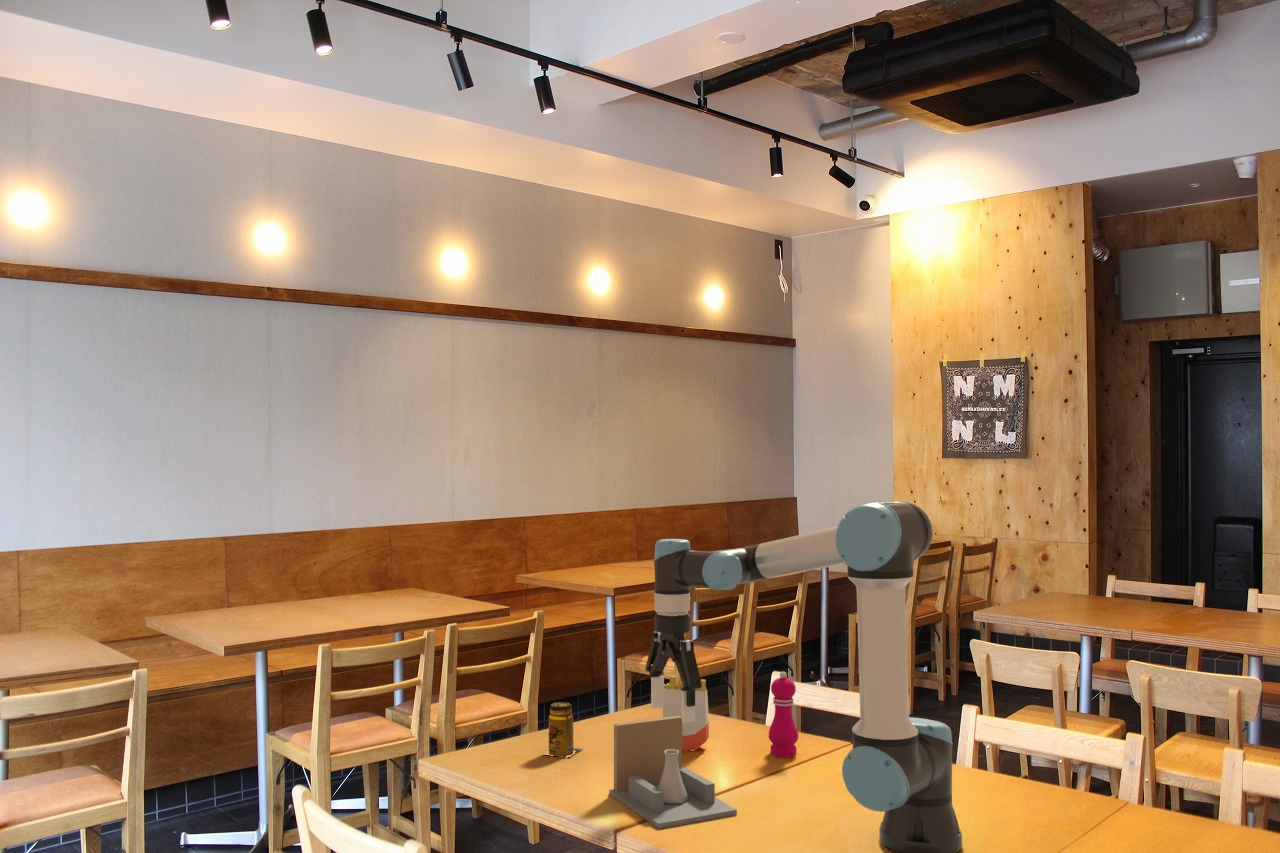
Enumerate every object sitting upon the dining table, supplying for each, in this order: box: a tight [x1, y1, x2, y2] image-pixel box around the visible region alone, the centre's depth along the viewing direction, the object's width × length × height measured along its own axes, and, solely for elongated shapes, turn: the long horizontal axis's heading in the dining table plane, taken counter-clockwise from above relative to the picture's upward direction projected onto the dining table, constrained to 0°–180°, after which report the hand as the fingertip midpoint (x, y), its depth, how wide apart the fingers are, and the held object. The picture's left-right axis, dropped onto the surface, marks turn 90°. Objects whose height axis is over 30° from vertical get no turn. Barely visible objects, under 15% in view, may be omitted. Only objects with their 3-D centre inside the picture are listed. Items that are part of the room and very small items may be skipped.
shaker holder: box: [608, 716, 738, 830], centre depth 218 cm, size 23×18×15 cm
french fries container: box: [662, 675, 710, 752], centre depth 260 cm, size 5×11×18 cm, turn 75°
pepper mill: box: [768, 671, 799, 758], centre depth 255 cm, size 7×7×20 cm
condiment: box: [548, 701, 584, 759], centre depth 256 cm, size 7×8×12 cm
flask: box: [658, 749, 688, 804], centre depth 218 cm, size 7×7×10 cm
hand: (672, 714), depth 219 cm, fingers open, 13 cm apart
